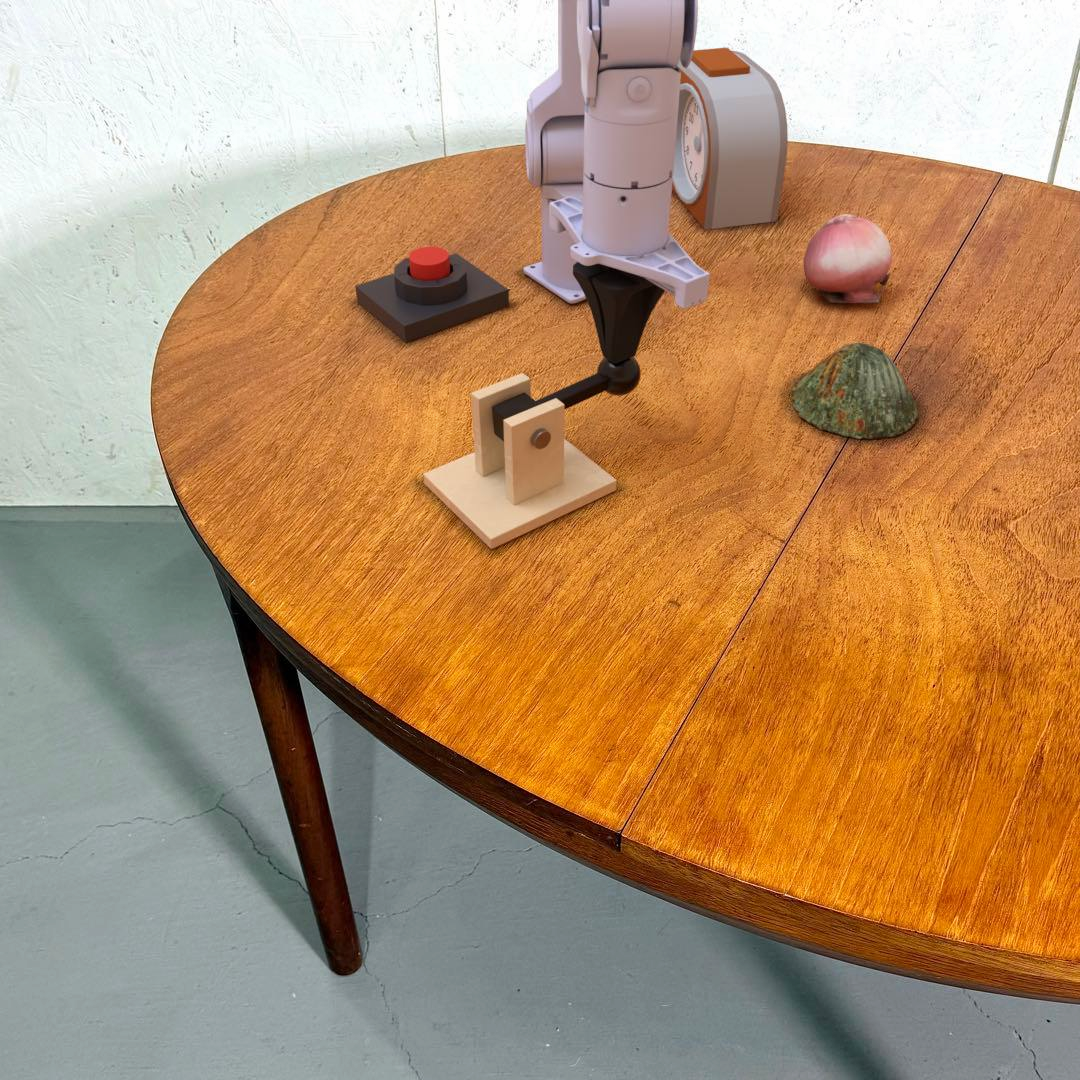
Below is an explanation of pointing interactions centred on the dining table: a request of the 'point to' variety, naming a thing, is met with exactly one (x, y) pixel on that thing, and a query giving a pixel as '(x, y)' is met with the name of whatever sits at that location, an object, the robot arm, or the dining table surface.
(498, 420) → the black lever handle
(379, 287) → the control block
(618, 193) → the robot arm
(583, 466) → the lever base
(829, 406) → the seashell
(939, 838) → the dining table surface
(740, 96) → the alarm clock
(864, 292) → the onion
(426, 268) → the button
